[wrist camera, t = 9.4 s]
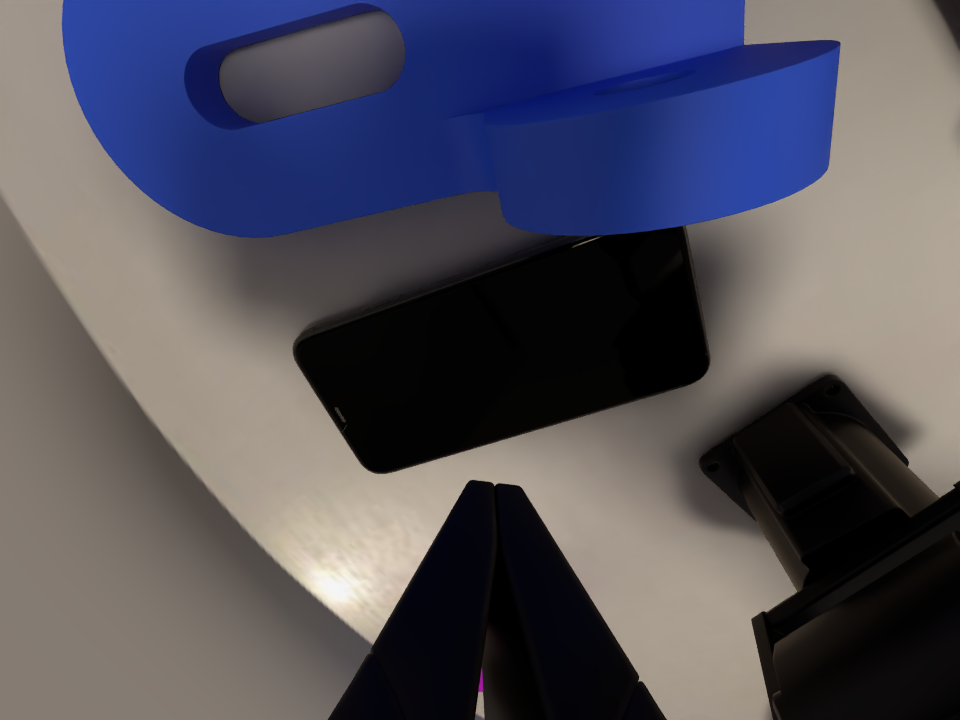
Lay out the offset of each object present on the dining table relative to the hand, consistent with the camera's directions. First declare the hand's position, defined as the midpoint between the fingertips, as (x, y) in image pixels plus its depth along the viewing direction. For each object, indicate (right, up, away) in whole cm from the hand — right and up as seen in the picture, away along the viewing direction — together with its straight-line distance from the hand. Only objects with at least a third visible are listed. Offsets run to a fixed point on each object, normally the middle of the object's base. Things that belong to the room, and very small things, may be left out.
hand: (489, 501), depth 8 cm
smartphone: (+1, +3, +12) cm, 13 cm away
